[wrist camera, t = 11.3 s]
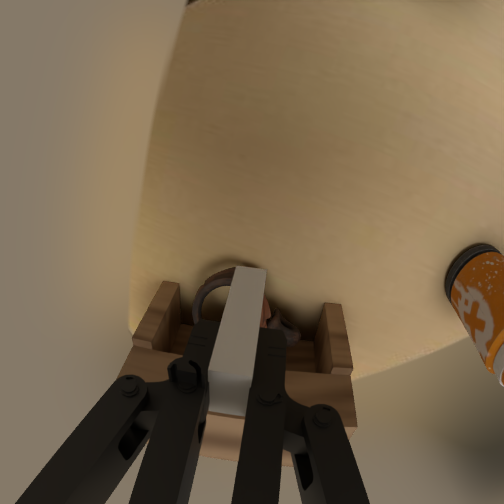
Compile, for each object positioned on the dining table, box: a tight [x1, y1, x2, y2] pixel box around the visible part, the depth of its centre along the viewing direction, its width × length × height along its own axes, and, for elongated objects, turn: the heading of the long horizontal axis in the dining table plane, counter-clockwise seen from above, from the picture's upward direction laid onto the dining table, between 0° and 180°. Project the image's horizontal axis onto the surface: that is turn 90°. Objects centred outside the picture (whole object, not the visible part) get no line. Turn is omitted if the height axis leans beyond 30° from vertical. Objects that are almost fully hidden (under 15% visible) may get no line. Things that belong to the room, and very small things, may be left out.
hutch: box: [116, 281, 357, 467], centre depth 32 cm, size 10×21×16 cm, turn 85°
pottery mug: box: [192, 267, 301, 347], centre depth 35 cm, size 12×9×8 cm
